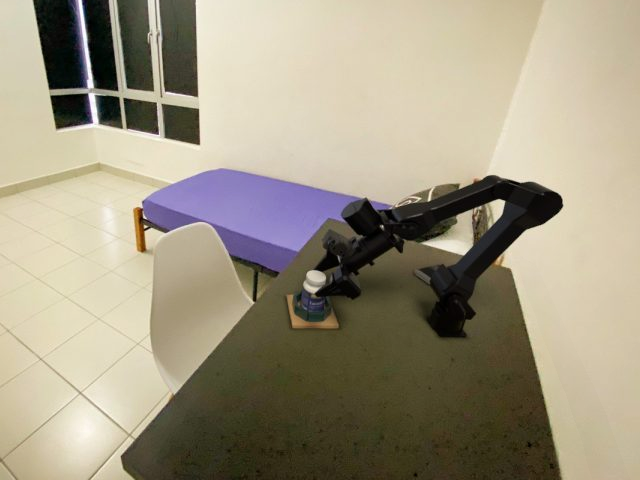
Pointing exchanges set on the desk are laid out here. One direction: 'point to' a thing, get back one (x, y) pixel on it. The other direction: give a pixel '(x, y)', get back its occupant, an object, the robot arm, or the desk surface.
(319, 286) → the pill bottle
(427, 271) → the cell phone
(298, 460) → the desk surface
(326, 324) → the dock
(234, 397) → the desk surface
